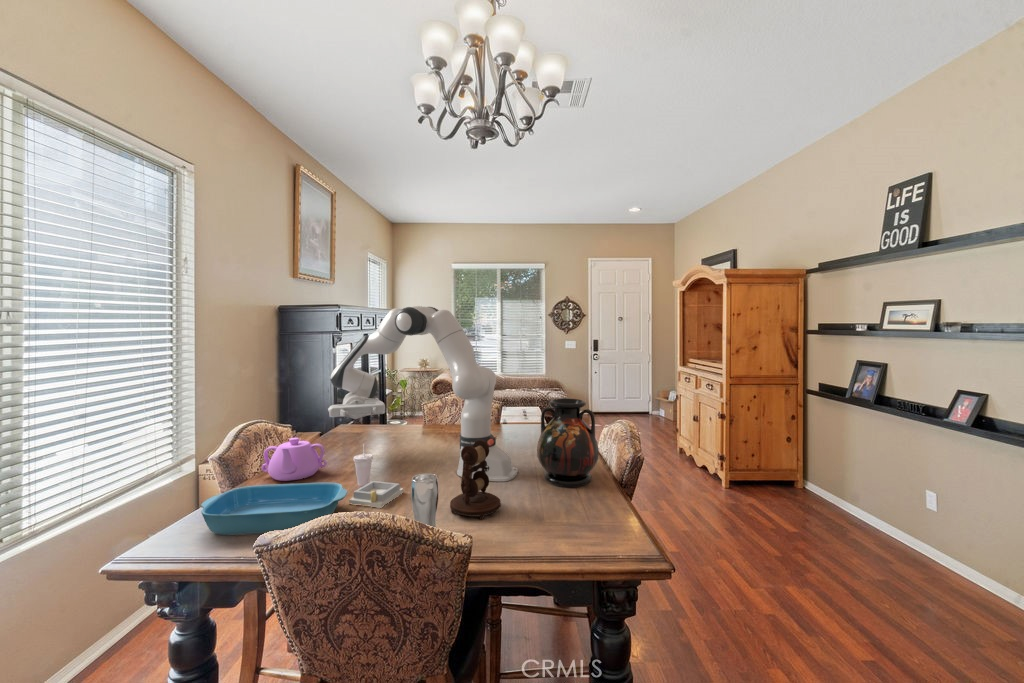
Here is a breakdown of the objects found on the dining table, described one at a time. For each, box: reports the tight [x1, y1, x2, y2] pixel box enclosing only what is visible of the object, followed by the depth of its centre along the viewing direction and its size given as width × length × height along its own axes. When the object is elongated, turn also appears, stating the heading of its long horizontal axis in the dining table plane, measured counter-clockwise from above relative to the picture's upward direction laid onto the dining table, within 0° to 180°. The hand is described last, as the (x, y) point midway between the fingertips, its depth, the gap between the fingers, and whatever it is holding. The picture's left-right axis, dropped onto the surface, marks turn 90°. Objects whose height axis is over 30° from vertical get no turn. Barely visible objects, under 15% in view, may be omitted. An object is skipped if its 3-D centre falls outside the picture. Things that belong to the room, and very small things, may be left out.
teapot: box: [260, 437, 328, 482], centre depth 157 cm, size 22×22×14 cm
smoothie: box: [353, 443, 374, 487], centre depth 150 cm, size 6×6×14 cm
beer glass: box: [410, 473, 440, 528], centre depth 113 cm, size 7×7×15 cm
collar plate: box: [348, 480, 404, 509], centre depth 137 cm, size 11×13×4 cm
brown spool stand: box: [449, 440, 502, 521], centre depth 128 cm, size 15×15×20 cm
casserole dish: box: [200, 482, 348, 536], centre depth 122 cm, size 37×22×7 cm, turn 99°
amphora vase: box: [536, 398, 600, 488], centre depth 153 cm, size 22×22×28 cm
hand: (359, 413), depth 161 cm, fingers open, 8 cm apart
